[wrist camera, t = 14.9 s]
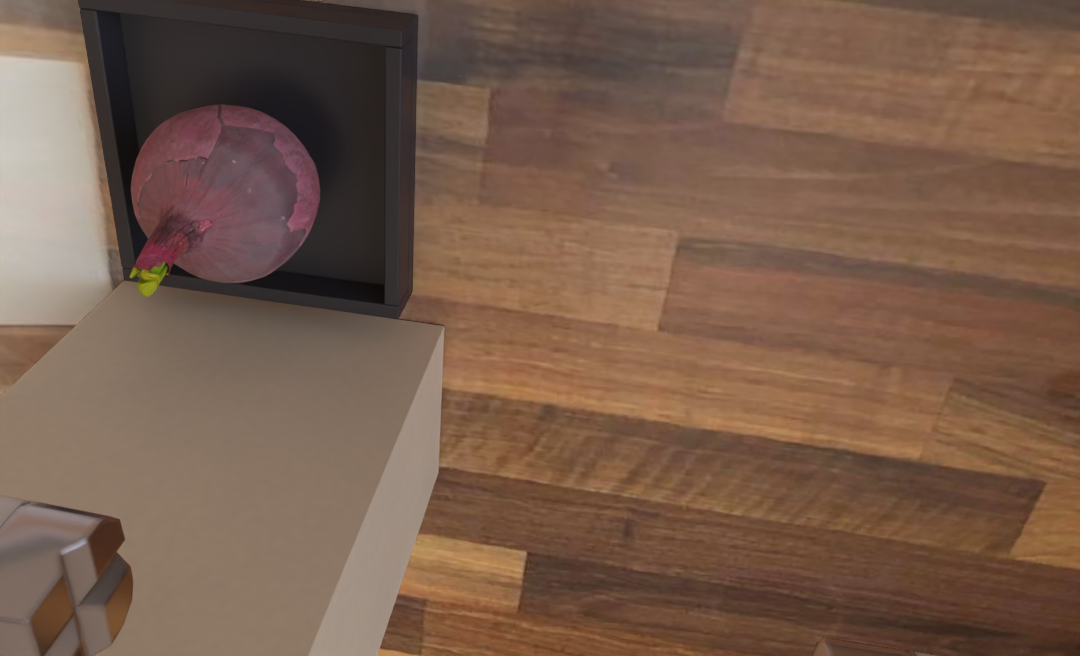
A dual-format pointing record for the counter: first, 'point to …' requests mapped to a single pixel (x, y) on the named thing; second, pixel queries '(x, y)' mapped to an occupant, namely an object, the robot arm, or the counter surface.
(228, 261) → the vegetable
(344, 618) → the column
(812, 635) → the counter surface
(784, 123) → the counter surface
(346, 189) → the pan
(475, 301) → the counter surface
